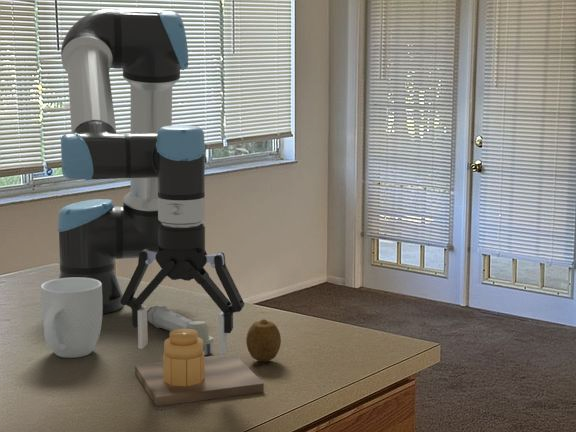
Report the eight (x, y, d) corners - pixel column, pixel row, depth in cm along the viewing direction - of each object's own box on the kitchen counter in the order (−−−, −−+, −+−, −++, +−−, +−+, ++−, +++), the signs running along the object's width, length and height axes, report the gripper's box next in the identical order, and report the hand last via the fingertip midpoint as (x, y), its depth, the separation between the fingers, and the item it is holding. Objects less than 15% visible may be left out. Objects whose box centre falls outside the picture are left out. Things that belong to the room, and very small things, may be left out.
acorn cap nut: (160, 384, 145) (159, 337, 144) (170, 371, 152) (170, 326, 150) (198, 387, 144) (197, 339, 143) (207, 373, 151) (207, 328, 149)
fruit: (253, 369, 157) (253, 326, 156) (241, 358, 163) (241, 316, 162) (286, 365, 160) (286, 322, 158) (272, 354, 165) (273, 313, 164)
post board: (135, 373, 155) (134, 342, 154) (233, 361, 161) (233, 332, 160) (156, 406, 140) (155, 373, 139) (263, 392, 147) (263, 360, 146)
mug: (77, 372, 155) (75, 299, 153) (20, 366, 158) (17, 295, 155) (113, 345, 170) (111, 279, 167) (60, 341, 172) (58, 275, 170)
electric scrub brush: (166, 303, 186) (216, 317, 164) (168, 334, 186) (218, 353, 164) (142, 306, 183) (190, 321, 161) (144, 338, 183) (192, 357, 162)
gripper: (98, 223, 141) (102, 351, 145) (253, 231, 138) (252, 361, 142) (114, 215, 148) (117, 336, 153) (262, 221, 145) (261, 345, 149)
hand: (182, 348), depth 147 cm, fingers open, 13 cm apart
